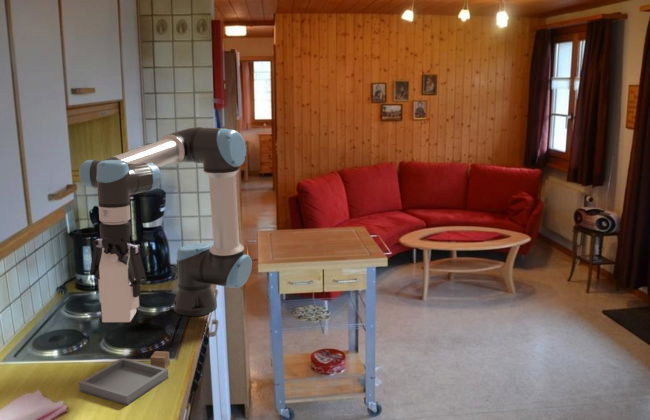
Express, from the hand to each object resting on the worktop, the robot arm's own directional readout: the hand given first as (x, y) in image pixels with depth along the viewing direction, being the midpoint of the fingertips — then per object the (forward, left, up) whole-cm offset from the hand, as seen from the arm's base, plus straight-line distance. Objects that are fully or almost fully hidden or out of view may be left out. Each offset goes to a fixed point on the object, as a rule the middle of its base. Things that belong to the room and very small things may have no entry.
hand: (119, 304), depth 159 cm
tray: (+1, +1, -22) cm, 22 cm away
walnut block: (-11, +3, -22) cm, 25 cm away
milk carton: (0, 0, -4) cm, 4 cm away
